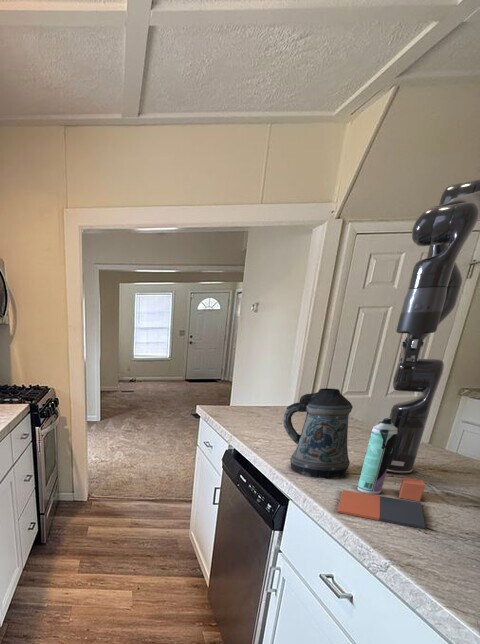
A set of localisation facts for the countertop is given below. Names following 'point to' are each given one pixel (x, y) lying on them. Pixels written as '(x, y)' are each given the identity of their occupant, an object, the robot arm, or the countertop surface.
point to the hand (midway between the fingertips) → (401, 383)
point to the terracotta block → (411, 489)
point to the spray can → (377, 457)
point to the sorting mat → (382, 509)
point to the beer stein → (320, 434)
